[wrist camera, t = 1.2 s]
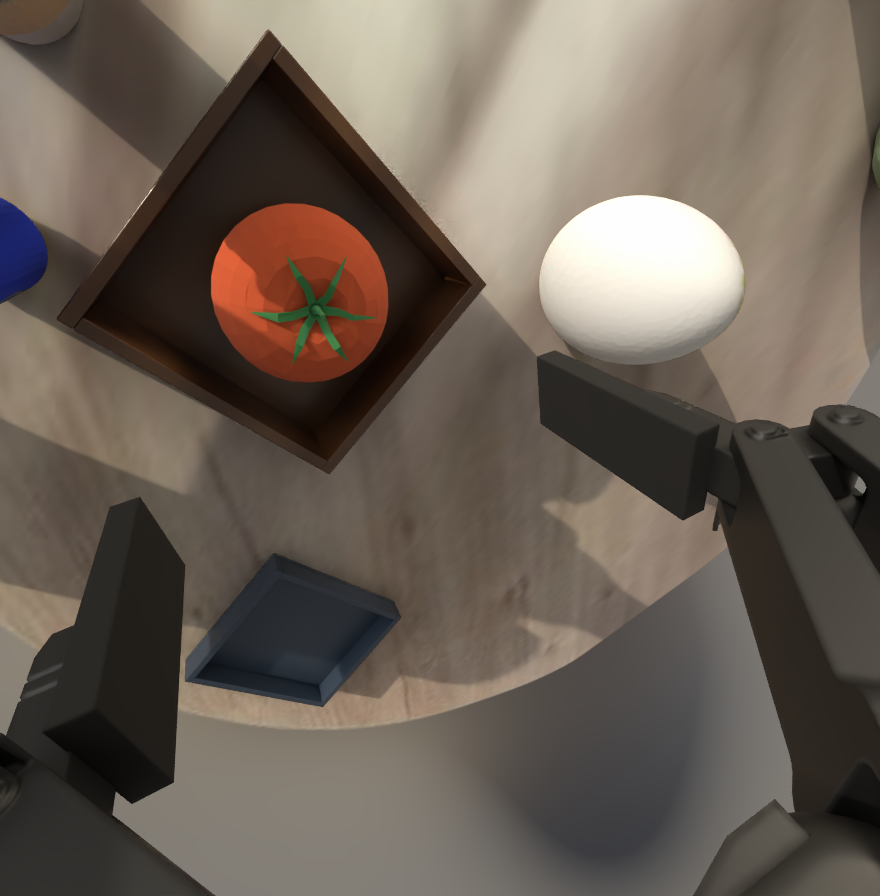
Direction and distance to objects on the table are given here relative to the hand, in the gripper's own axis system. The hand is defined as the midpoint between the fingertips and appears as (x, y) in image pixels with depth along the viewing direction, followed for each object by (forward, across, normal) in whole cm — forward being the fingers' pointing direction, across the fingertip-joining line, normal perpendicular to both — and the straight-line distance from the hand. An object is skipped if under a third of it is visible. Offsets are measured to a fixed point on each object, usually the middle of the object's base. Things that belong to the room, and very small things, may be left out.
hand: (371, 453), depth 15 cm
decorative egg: (+22, +26, -3) cm, 34 cm away
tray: (+22, -9, -30) cm, 38 cm away
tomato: (+22, +1, +2) cm, 22 cm away
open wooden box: (+22, +1, +2) cm, 22 cm away
